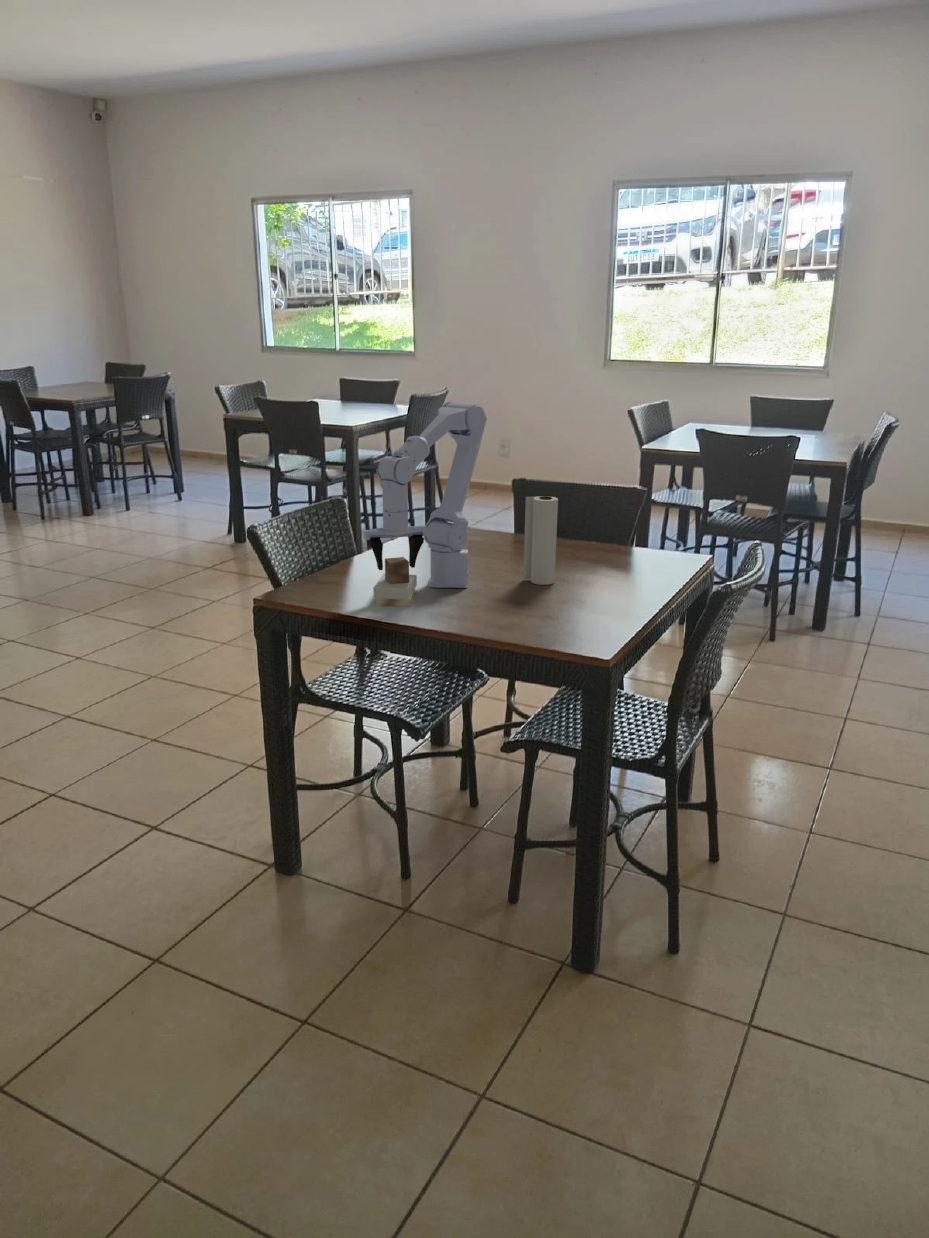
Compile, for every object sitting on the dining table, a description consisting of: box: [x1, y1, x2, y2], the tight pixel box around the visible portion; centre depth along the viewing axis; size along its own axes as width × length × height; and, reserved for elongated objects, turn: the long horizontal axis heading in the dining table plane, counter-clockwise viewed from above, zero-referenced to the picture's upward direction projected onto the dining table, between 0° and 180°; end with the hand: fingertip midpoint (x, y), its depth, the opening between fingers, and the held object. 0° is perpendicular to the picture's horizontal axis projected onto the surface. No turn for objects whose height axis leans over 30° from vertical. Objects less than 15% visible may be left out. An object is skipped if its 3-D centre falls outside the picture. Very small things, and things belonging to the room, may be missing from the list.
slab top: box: [373, 573, 418, 600], centre depth 215 cm, size 8×12×2 cm, turn 174°
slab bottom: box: [375, 588, 416, 607], centre depth 216 cm, size 8×12×2 cm, turn 179°
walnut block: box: [384, 556, 410, 584], centre depth 214 cm, size 4×4×5 cm
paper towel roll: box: [522, 495, 559, 586], centre depth 227 cm, size 7×6×21 cm
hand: (396, 567), depth 213 cm, fingers open, 7 cm apart
